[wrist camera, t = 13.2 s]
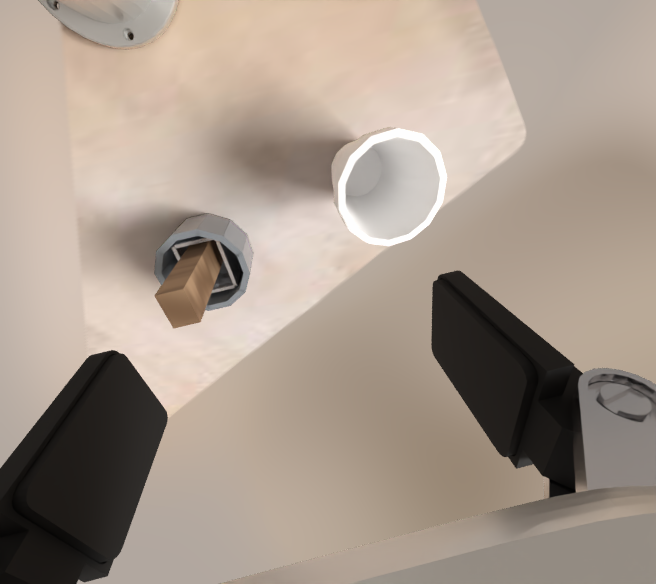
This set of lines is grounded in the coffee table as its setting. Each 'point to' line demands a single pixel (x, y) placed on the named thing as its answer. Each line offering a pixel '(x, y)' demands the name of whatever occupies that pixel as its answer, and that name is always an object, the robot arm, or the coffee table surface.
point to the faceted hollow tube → (213, 230)
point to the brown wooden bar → (190, 284)
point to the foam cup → (388, 185)
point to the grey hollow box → (228, 257)
